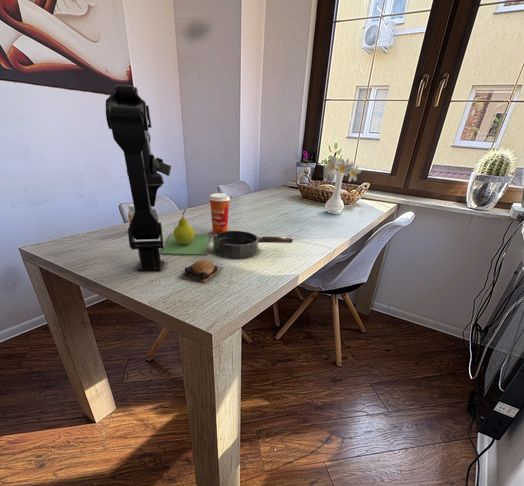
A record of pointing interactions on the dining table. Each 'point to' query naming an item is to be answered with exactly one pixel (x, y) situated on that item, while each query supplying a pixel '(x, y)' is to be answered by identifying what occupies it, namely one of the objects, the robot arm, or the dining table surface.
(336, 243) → the dining table surface
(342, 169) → the flower vase
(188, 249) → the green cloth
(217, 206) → the paper cup
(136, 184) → the robot arm
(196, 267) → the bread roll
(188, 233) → the fruit
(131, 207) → the supplement bottle
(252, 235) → the pan
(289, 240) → the pan handle
